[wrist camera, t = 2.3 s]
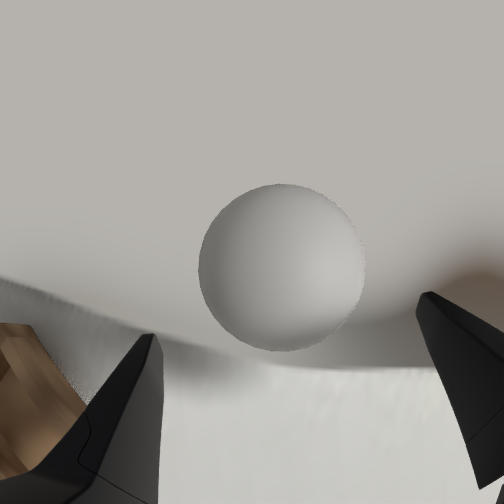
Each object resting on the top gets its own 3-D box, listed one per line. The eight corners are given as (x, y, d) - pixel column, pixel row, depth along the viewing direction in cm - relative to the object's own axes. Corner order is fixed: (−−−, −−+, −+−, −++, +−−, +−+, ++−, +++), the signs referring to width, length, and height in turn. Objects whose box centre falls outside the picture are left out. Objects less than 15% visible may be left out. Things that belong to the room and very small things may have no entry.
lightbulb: (321, 250, 20) (392, 171, 9) (310, 345, 18) (385, 366, 8) (227, 237, 20) (205, 141, 9) (212, 333, 19) (165, 342, 8)
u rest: (125, 447, 16) (104, 466, 13) (54, 503, 14) (33, 519, 11) (29, 325, 18) (-1, 322, 15) (-23, 400, 16) (-48, 404, 13)
